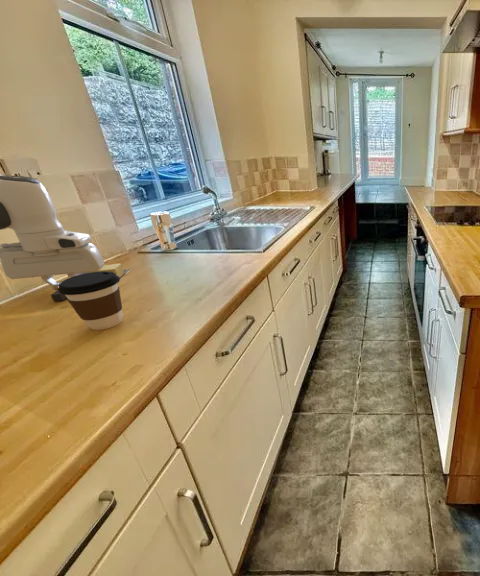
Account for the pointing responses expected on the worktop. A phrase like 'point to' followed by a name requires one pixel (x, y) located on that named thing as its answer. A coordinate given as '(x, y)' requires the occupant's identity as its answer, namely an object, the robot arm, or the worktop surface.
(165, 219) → the beer glass
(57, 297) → the knife
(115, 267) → the butter block
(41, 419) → the worktop surface
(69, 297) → the coffee cup
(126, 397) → the worktop surface
